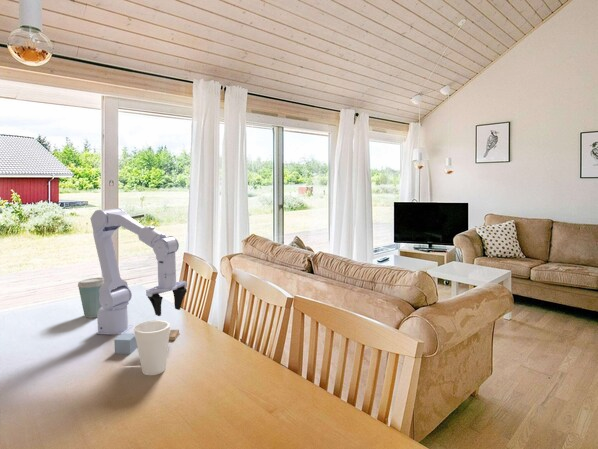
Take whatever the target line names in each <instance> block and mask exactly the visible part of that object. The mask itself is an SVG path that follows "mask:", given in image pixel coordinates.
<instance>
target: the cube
mask: <svg viewBox="0 0 598 449" xmlns="http://www.w3.org/2000/svg"><path fill="white" fill-rule="evenodd" d="M113 342H114V354H121V355H124V354H125V355H131V354H132V353H133V352H135V351H136V350H138V347H137V342H136V338H135V333H126V332H125V333H122V334H119V335H118V336H117V337H116V338H114V340H113Z"/></svg>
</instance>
